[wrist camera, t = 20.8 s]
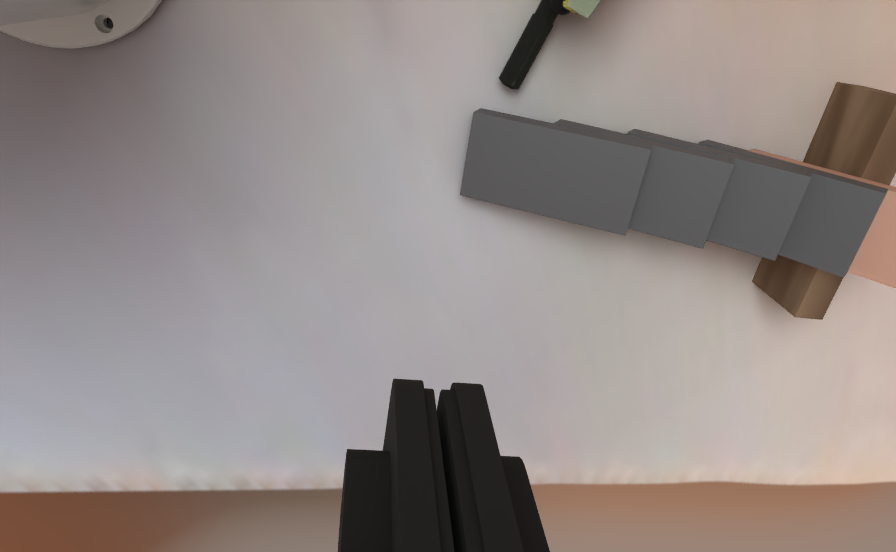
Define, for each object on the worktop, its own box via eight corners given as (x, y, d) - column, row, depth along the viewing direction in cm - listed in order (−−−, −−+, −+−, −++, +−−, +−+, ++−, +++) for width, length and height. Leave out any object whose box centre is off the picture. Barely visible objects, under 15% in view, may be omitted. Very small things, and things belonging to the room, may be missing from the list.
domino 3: (606, 210, 38) (774, 260, 34) (628, 132, 36) (811, 176, 32) (612, 204, 39) (775, 252, 35) (634, 129, 37) (810, 171, 33)
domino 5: (718, 226, 39) (895, 288, 33) (746, 151, 37) (941, 204, 31) (725, 222, 40) (898, 280, 35) (753, 149, 38) (942, 199, 32)
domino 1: (460, 194, 36) (625, 235, 34) (473, 112, 34) (651, 149, 32) (467, 188, 38) (626, 226, 36) (480, 108, 35) (651, 144, 33)
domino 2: (536, 203, 37) (702, 248, 34) (555, 122, 35) (734, 164, 32) (542, 196, 38) (702, 239, 36) (560, 119, 36) (733, 158, 34)
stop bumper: (752, 281, 43) (794, 317, 39) (837, 81, 37) (899, 97, 33) (777, 283, 43) (822, 319, 39) (865, 86, 37) (930, 102, 33)
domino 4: (673, 217, 39) (843, 277, 34) (699, 142, 37) (885, 193, 31) (682, 213, 40) (848, 270, 35) (708, 139, 38) (888, 189, 33)
